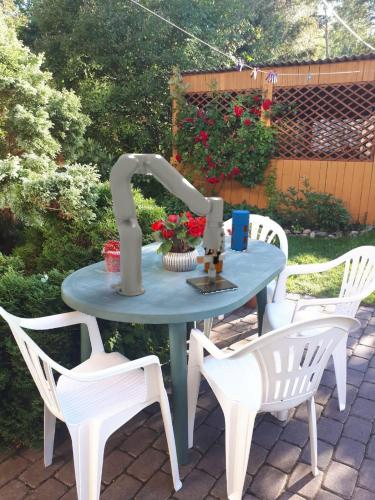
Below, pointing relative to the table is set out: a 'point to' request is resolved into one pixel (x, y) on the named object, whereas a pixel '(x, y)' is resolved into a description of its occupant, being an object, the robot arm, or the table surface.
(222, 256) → the t handle
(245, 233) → the thermos
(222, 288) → the post base
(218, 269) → the wine bottle
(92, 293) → the table surface
